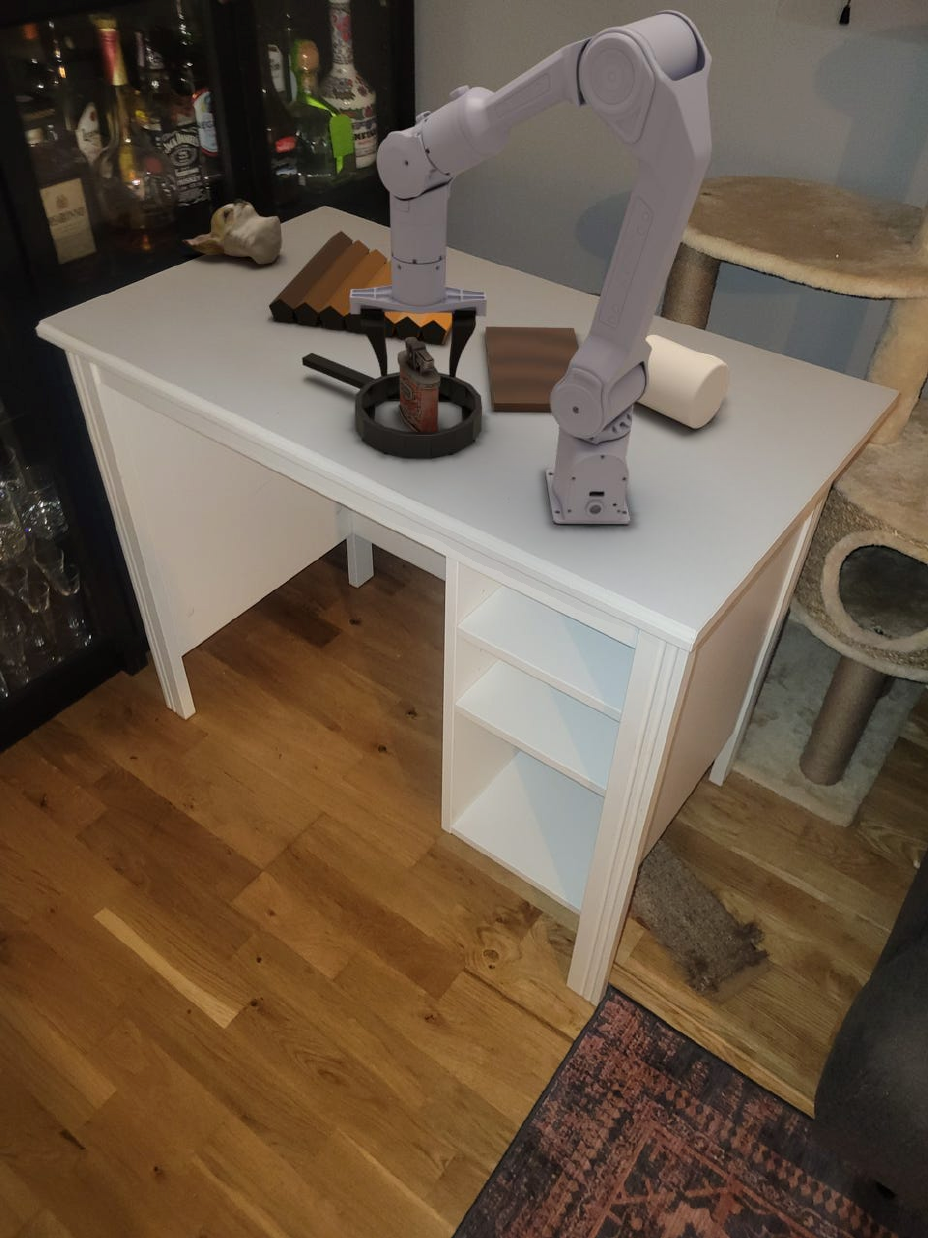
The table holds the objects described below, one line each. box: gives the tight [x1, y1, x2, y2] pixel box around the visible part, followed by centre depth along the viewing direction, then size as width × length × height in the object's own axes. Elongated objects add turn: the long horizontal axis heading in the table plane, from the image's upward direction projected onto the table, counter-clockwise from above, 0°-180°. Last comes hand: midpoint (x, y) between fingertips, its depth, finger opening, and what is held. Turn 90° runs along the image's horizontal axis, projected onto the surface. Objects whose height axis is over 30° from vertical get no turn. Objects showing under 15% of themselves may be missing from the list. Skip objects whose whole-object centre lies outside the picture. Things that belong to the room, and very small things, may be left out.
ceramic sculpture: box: [182, 198, 283, 265], centre depth 143 cm, size 11×9×15 cm
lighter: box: [397, 337, 440, 432], centre depth 109 cm, size 8×3×10 cm, turn 25°
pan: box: [301, 352, 483, 459], centre depth 112 cm, size 19×22×3 cm
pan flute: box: [268, 230, 452, 346], centre depth 136 cm, size 25×3×25 cm
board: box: [484, 326, 580, 413], centre depth 122 cm, size 20×12×1 cm, turn 2°
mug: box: [635, 334, 731, 429], centre depth 115 cm, size 12×10×8 cm
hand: (418, 372), depth 108 cm, fingers open, 7 cm apart
